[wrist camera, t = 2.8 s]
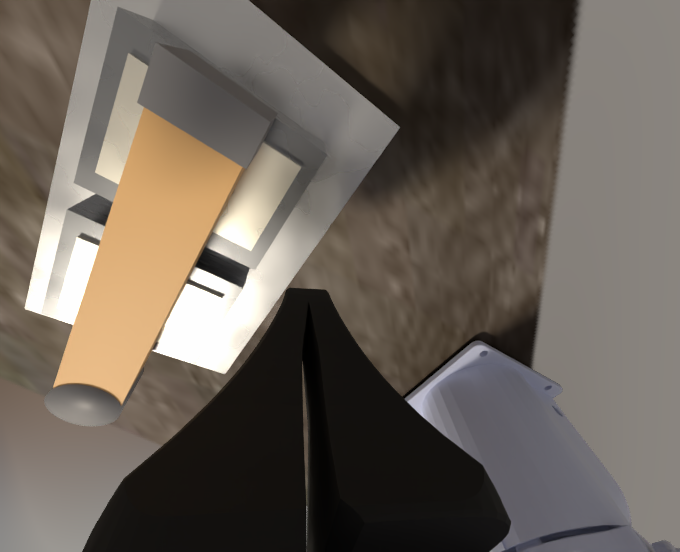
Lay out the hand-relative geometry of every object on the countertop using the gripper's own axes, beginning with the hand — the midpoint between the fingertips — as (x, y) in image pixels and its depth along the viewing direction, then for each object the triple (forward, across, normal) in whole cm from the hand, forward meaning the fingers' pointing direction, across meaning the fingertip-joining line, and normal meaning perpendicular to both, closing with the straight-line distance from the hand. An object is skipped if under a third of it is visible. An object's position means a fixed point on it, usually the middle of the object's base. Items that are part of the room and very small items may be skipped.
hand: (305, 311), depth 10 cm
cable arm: (+1, +5, 0) cm, 5 cm away
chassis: (+4, +5, -1) cm, 6 cm away
